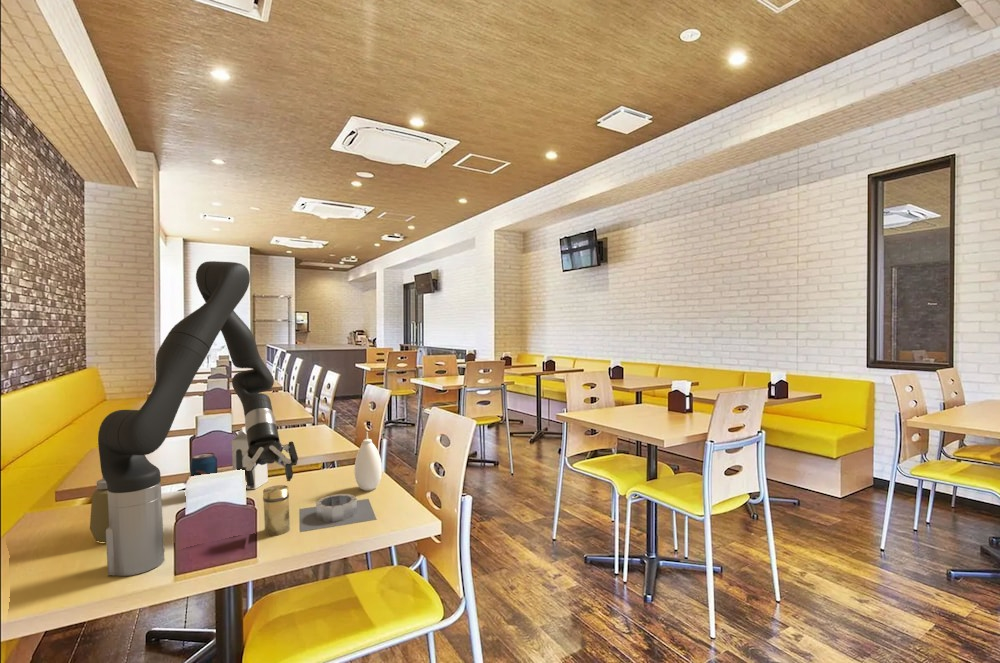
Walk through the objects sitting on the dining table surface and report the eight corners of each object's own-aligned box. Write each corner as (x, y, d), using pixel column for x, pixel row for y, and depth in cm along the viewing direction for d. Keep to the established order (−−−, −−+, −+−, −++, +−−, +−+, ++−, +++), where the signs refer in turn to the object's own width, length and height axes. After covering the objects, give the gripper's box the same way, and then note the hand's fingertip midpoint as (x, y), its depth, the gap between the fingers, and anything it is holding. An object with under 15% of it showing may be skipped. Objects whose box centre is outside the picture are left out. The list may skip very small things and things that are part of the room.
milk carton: (268, 481, 164) (265, 422, 164) (255, 489, 157) (252, 427, 157) (247, 481, 165) (244, 422, 164) (233, 489, 158) (230, 427, 157)
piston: (263, 541, 121) (262, 494, 120) (265, 531, 126) (263, 487, 126) (290, 536, 123) (288, 491, 122) (290, 527, 128) (288, 483, 128)
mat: (300, 535, 123) (299, 532, 123) (299, 511, 138) (299, 508, 138) (376, 522, 130) (376, 519, 130) (368, 501, 145) (368, 498, 145)
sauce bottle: (385, 486, 157) (383, 427, 157) (378, 495, 150) (376, 433, 149) (360, 486, 158) (358, 428, 157) (351, 495, 150) (349, 434, 149)
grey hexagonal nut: (317, 524, 128) (316, 510, 128) (315, 510, 137) (315, 497, 137) (358, 517, 131) (358, 504, 131) (354, 504, 141) (354, 491, 140)
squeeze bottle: (97, 535, 126) (94, 462, 126) (136, 529, 129) (133, 458, 129) (84, 549, 119) (80, 471, 118) (126, 542, 122) (122, 466, 121)
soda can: (186, 499, 150) (184, 458, 150) (201, 491, 157) (199, 452, 156) (208, 499, 149) (207, 458, 149) (223, 491, 156) (221, 452, 156)
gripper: (232, 425, 132) (240, 481, 123) (291, 417, 140) (303, 469, 131) (231, 441, 137) (238, 496, 127) (288, 433, 144) (299, 485, 135)
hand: (271, 483), depth 129 cm, fingers open, 8 cm apart
